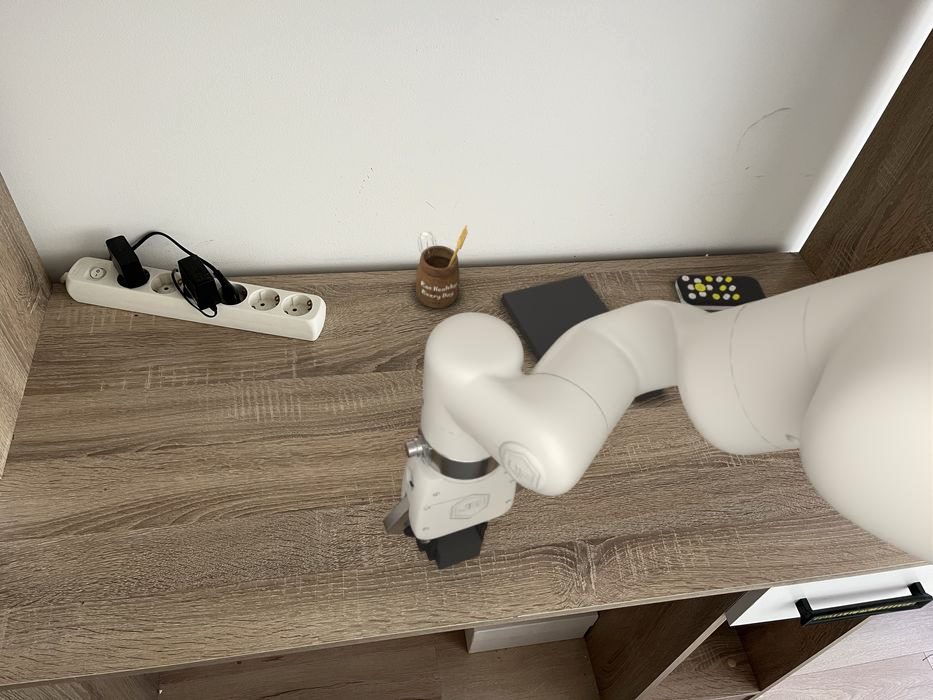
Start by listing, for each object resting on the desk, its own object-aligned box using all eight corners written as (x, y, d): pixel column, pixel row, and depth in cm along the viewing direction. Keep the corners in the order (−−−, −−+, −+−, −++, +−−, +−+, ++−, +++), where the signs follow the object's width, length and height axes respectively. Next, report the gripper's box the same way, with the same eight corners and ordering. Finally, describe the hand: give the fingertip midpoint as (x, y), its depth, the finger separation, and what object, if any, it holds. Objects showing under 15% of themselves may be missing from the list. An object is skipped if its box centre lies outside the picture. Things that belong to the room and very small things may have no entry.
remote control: (766, 313, 110) (771, 303, 108) (682, 311, 108) (686, 301, 107) (752, 283, 114) (757, 274, 112) (671, 281, 112) (675, 271, 111)
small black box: (479, 555, 77) (482, 541, 75) (439, 570, 76) (440, 556, 73) (461, 515, 80) (463, 500, 78) (421, 528, 79) (422, 513, 76)
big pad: (661, 394, 97) (664, 387, 96) (573, 420, 93) (576, 413, 92) (580, 282, 110) (582, 274, 109) (500, 301, 106) (502, 293, 105)
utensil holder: (413, 280, 107) (417, 213, 98) (457, 280, 108) (464, 213, 99) (416, 310, 103) (420, 243, 94) (461, 309, 104) (469, 243, 95)
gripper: (383, 503, 59) (384, 601, 73) (571, 443, 65) (539, 545, 78) (355, 430, 64) (361, 535, 77) (532, 380, 69) (509, 486, 82)
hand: (450, 539), depth 77 cm, fingers closed on small black box, 4 cm apart
